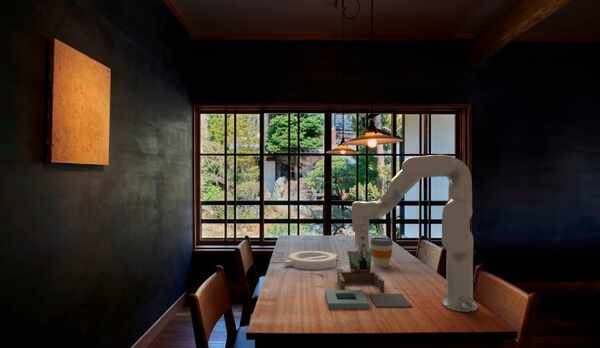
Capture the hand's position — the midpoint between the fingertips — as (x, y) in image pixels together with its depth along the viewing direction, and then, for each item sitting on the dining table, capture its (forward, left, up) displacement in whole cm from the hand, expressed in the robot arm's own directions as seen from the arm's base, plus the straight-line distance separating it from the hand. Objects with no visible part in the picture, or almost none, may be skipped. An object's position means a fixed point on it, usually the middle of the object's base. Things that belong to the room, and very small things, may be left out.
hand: (362, 267), depth 160 cm
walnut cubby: (+1, +1, -10) cm, 10 cm away
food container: (-1, 0, -3) cm, 3 cm away
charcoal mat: (-17, -8, -10) cm, 21 cm away
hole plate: (-17, +10, -10) cm, 21 cm away
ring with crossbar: (+47, +21, -10) cm, 53 cm away
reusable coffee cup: (+42, -19, -10) cm, 48 cm away
